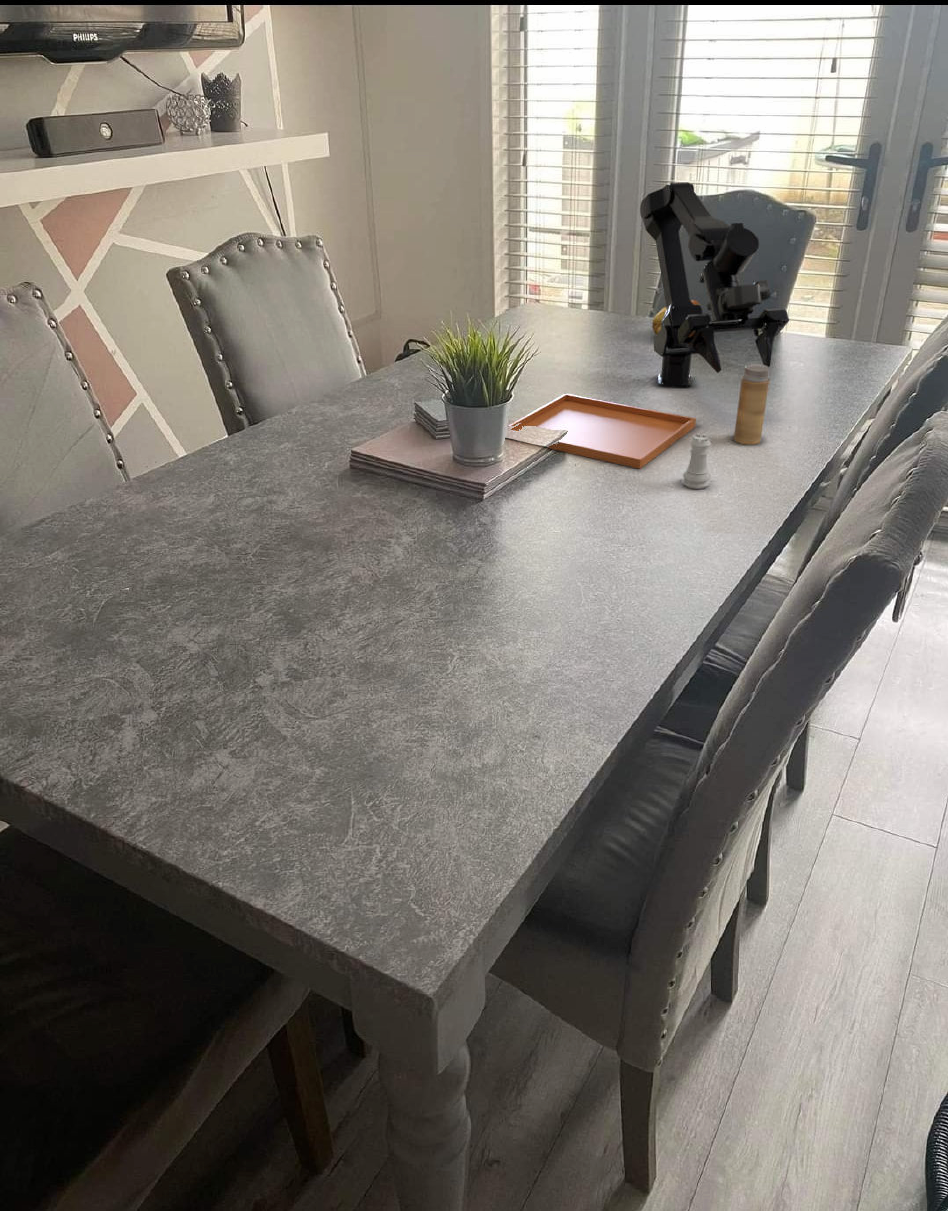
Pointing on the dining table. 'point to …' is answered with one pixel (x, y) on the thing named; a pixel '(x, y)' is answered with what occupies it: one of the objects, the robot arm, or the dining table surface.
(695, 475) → the rook chess piece
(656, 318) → the bread roll
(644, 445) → the tray
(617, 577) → the dining table surface
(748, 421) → the disc
